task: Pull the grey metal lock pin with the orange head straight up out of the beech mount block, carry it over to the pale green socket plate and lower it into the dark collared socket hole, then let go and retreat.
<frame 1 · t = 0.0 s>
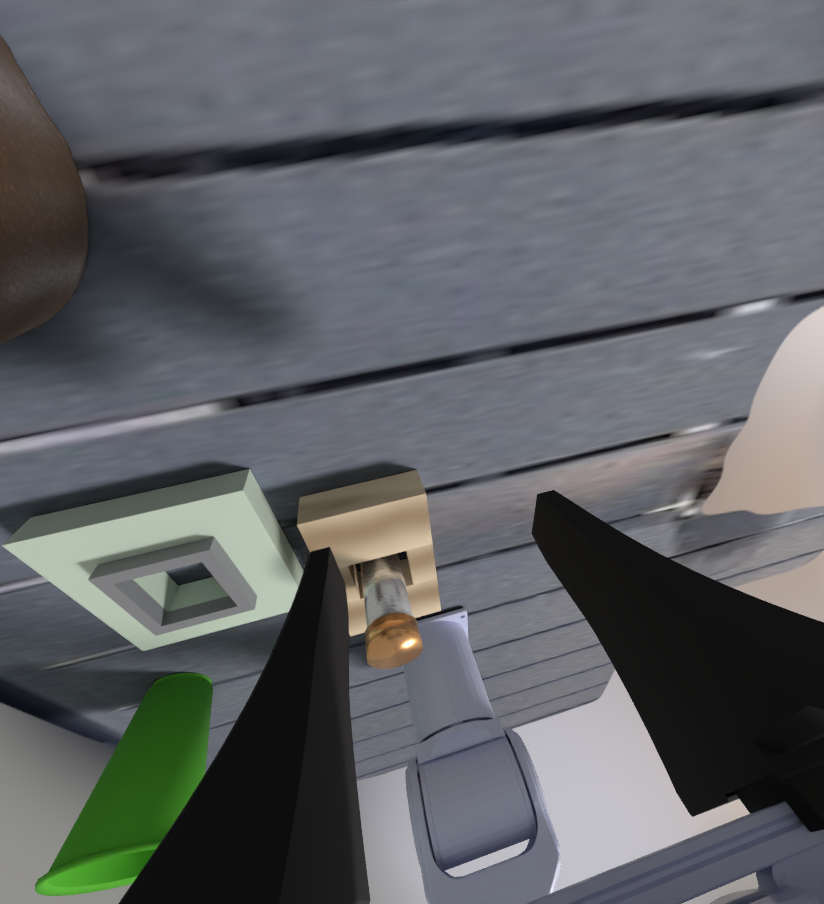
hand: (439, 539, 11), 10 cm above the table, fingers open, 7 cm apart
cup: (183, 683, 31), on the table
pin: (385, 594, 23), in the mount
socket: (196, 556, 22), on the table
mount: (378, 548, 26), on the table
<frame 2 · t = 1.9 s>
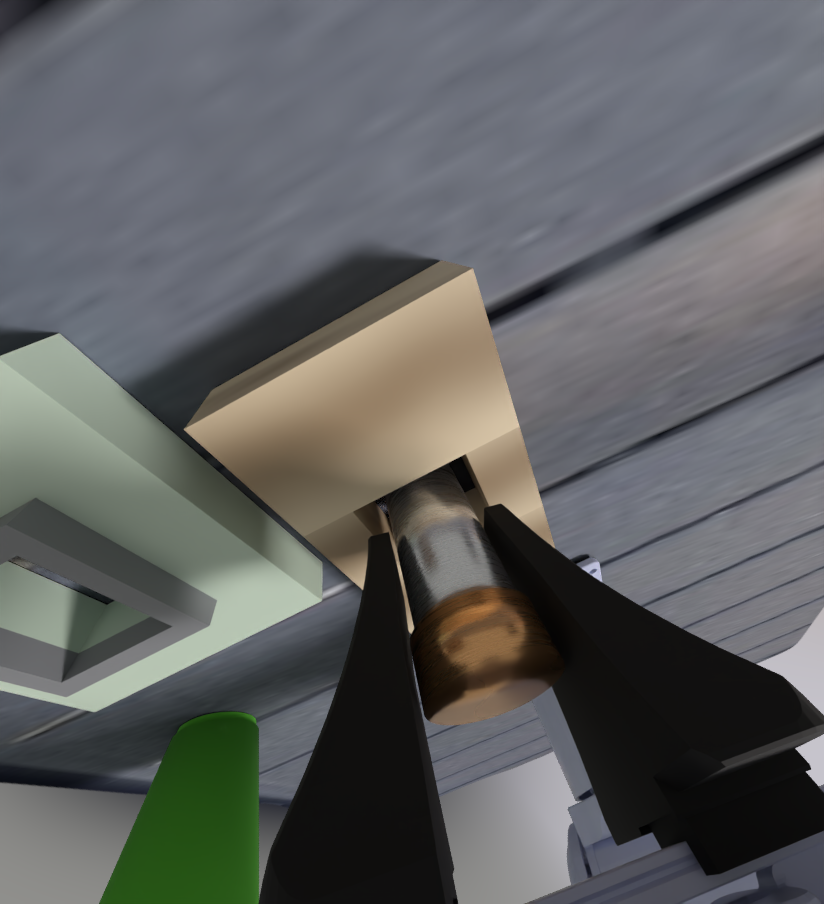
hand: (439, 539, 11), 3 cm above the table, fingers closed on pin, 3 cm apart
cup: (219, 724, 23), on the table
pin: (444, 552, 11), in the mount, touching gripper
socket: (97, 551, 12), on the table
mount: (416, 478, 14), on the table
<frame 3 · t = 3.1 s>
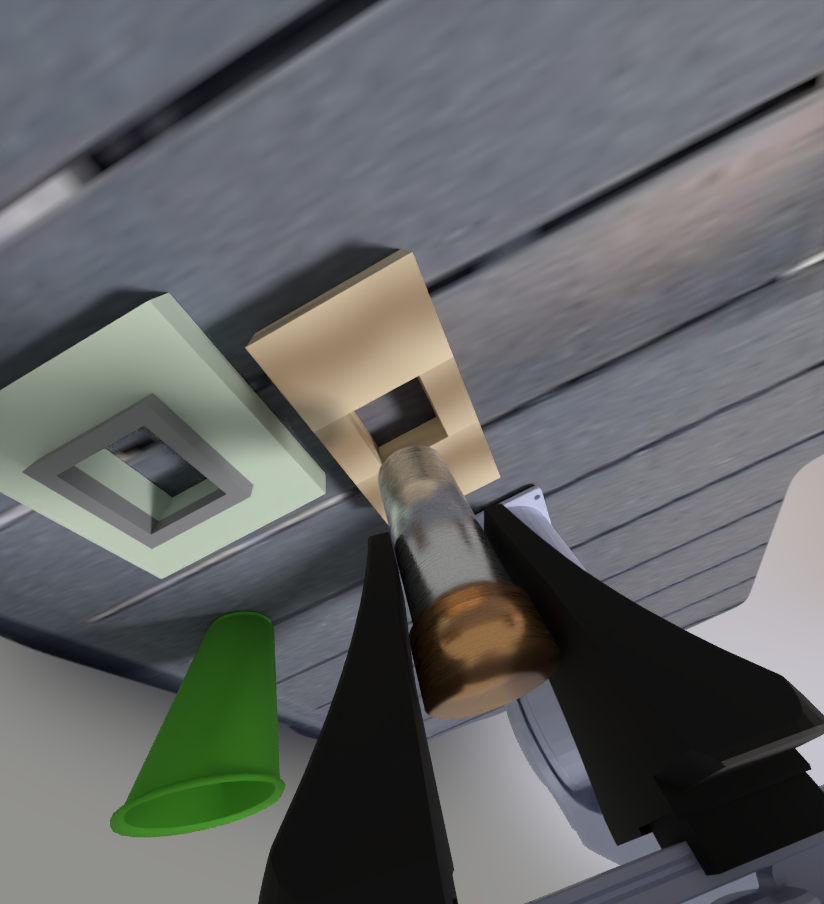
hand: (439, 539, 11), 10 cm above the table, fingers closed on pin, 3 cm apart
cup: (242, 625, 28), on the table
pin: (441, 548, 11), point 11 cm above the table, touching gripper
socket: (171, 451, 18), on the table
mount: (392, 406, 20), on the table
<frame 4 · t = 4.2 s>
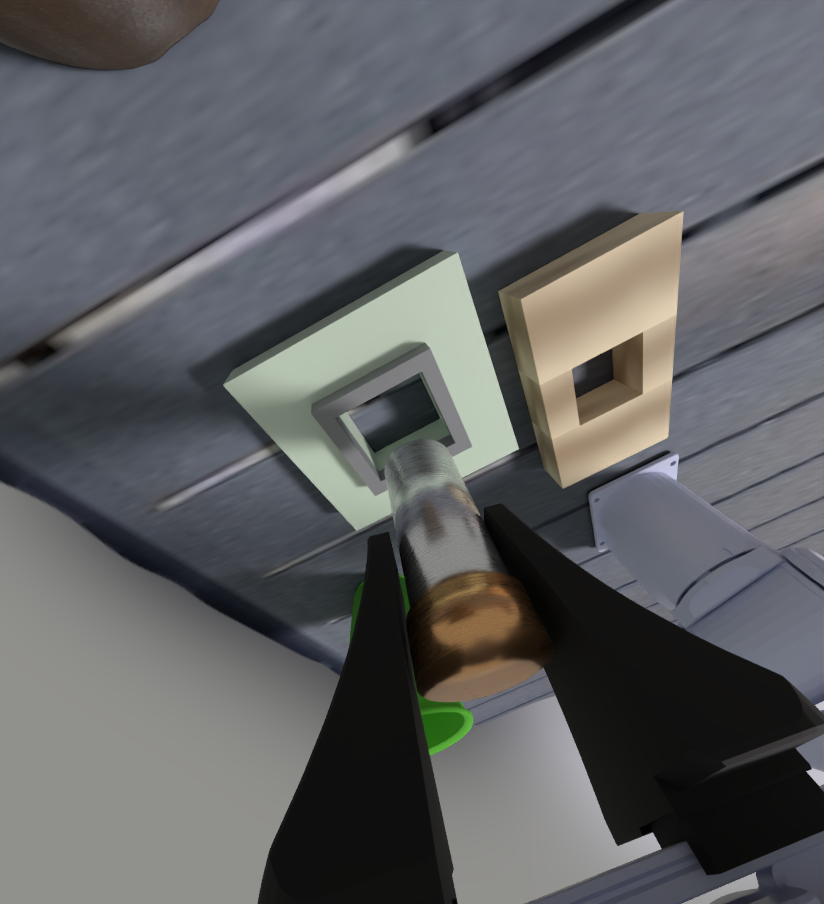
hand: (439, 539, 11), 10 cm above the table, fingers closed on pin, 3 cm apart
cup: (382, 587, 30), on the table
pin: (442, 539, 11), point 10 cm above the table, touching gripper
socket: (390, 406, 20), on the table
mount: (581, 367, 21), on the table
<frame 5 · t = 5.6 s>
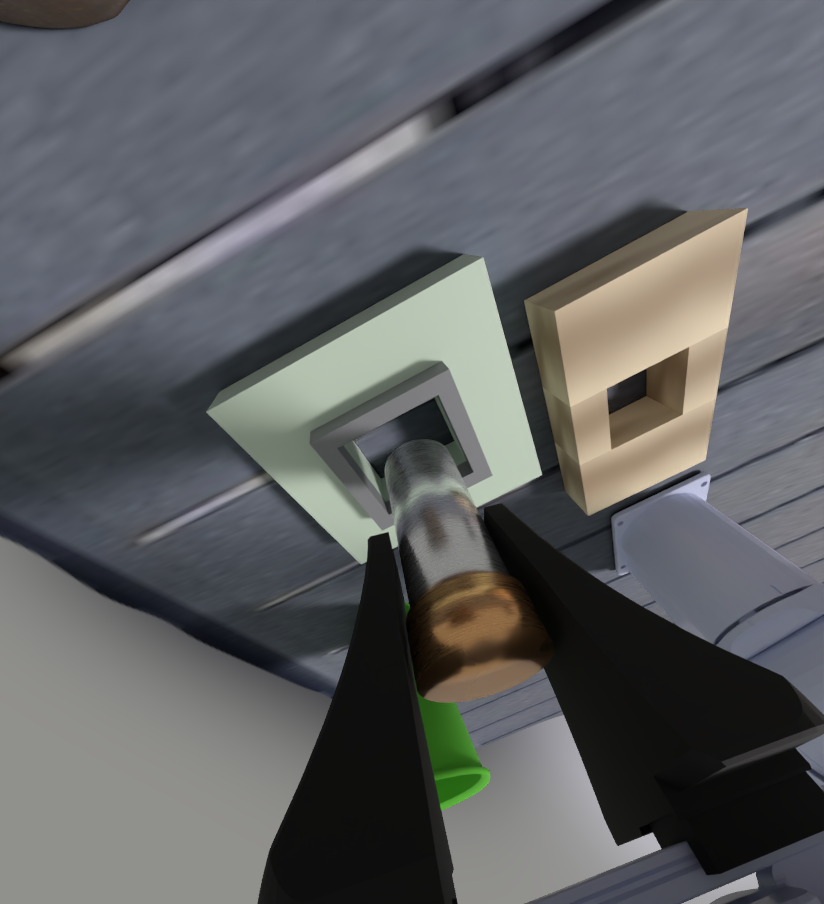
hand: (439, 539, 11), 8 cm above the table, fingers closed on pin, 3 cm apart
cup: (387, 616, 28), on the table
pin: (442, 539, 11), point 8 cm above the table, touching gripper
socket: (399, 429, 17), on the table
mount: (612, 384, 19), on the table
when the fingers open (4 cm above the table, at t = 6.7 s): pin stays where it is, resting in socket.
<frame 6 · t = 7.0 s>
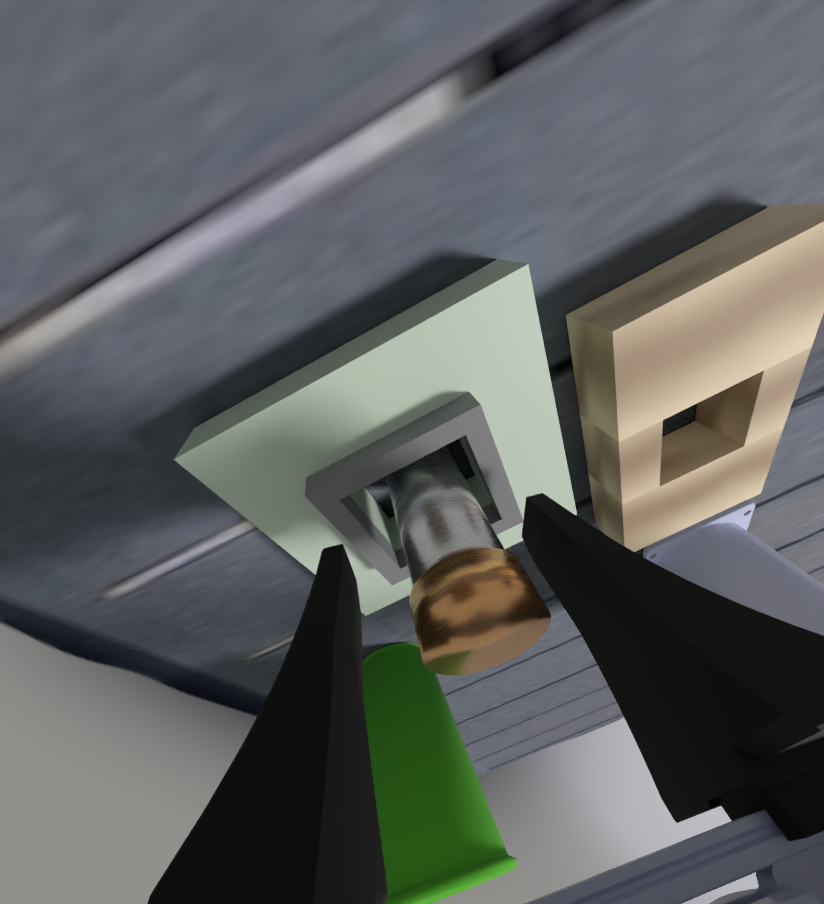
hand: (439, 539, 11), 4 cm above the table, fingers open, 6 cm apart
cup: (393, 657, 25), on the table
pin: (441, 525, 11), in the socket
socket: (411, 464, 15), on the table
mount: (658, 408, 16), on the table
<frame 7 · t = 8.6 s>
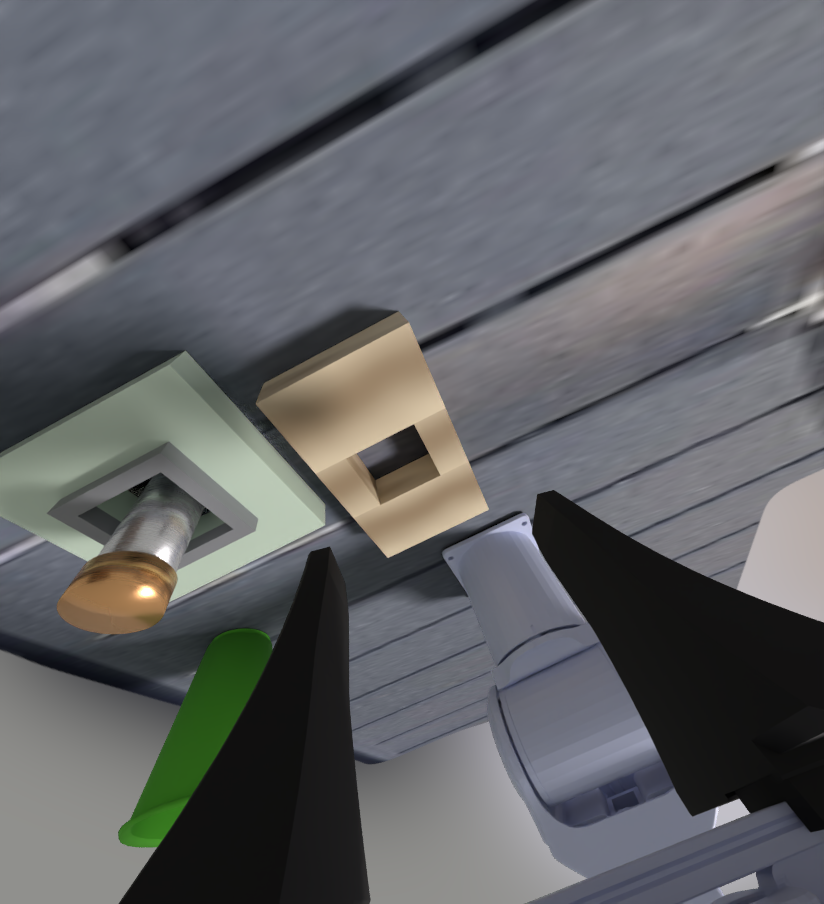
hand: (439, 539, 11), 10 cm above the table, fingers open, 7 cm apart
cup: (241, 641, 30), on the table
pin: (155, 534, 16), in the socket
socket: (181, 486, 19), on the table
mount: (389, 444, 21), on the table
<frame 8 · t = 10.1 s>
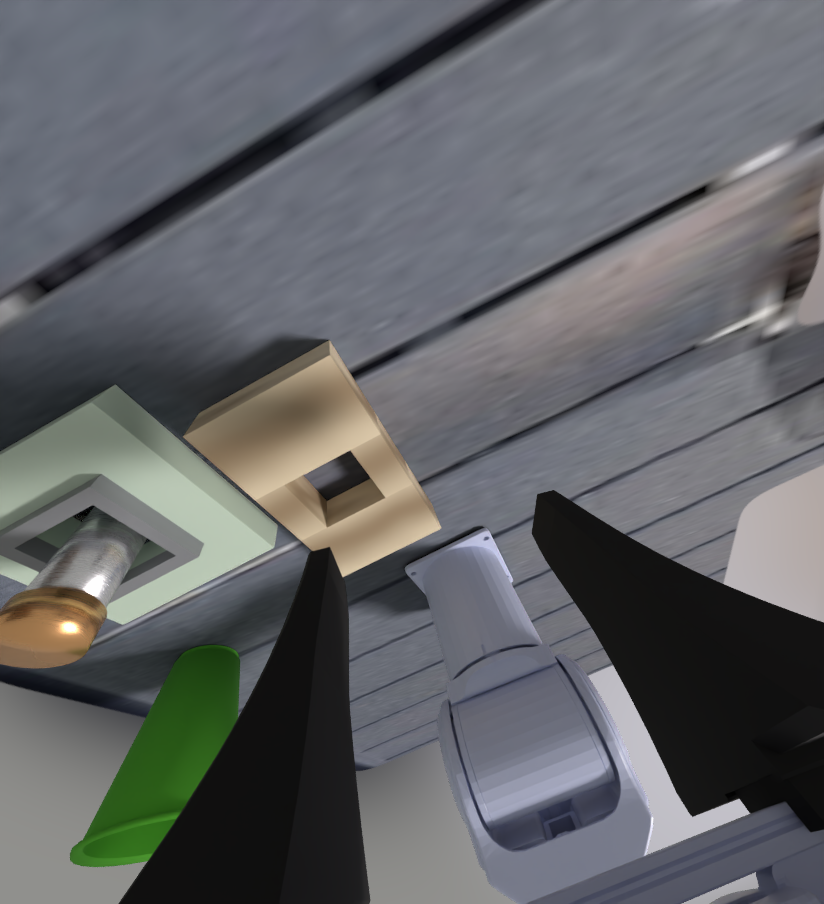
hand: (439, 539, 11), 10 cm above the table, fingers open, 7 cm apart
cup: (210, 656, 30), on the table
pin: (91, 564, 16), in the socket
socket: (128, 512, 20), on the table
mount: (336, 466, 21), on the table
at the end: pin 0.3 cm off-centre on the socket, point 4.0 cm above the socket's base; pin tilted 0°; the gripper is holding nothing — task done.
